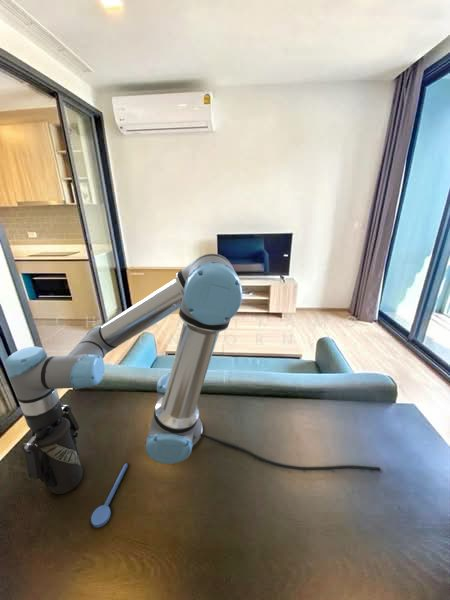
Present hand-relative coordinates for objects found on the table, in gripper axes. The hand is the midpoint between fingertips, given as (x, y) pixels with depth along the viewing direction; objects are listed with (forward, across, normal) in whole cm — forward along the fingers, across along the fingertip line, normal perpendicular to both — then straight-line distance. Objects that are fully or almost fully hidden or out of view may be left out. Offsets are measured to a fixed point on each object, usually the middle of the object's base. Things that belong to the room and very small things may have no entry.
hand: (63, 469), depth 70 cm
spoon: (+5, +2, +15) cm, 16 cm away
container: (+4, 0, 0) cm, 4 cm away
